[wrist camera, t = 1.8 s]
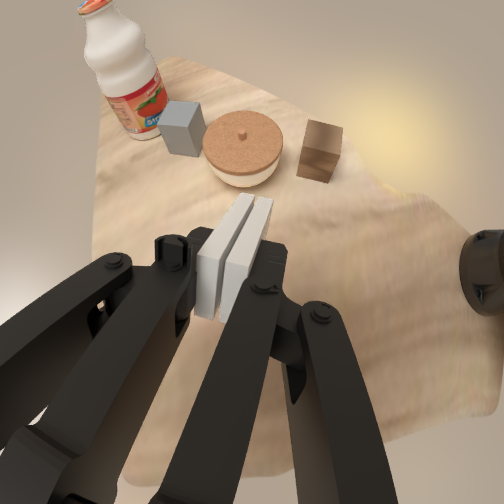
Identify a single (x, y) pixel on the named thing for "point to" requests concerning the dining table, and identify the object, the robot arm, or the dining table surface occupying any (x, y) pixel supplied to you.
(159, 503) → the robot arm
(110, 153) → the dining table surface
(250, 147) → the lidded jar
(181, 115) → the grey block
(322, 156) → the walnut block
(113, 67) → the fruit juice
